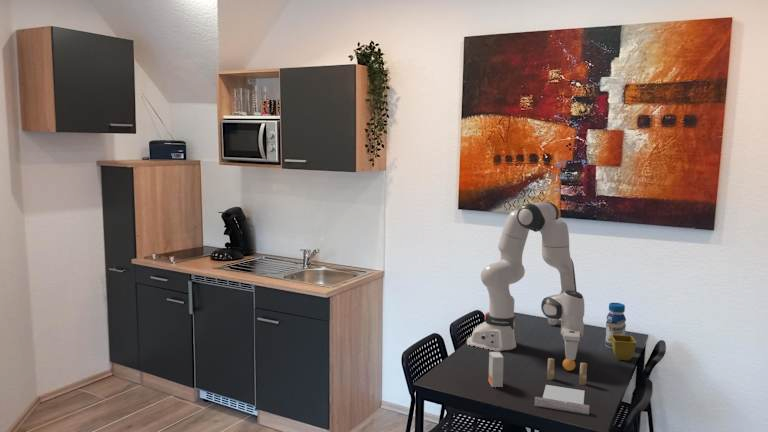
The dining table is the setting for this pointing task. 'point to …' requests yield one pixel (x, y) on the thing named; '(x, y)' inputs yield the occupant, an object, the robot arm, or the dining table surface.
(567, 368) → the ball
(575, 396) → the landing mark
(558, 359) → the dining table surface
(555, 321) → the frog figurine
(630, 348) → the flower pot
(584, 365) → the right post
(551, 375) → the left post
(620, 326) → the beverage bottle
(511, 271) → the robot arm
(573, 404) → the wall
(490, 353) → the skincare box
